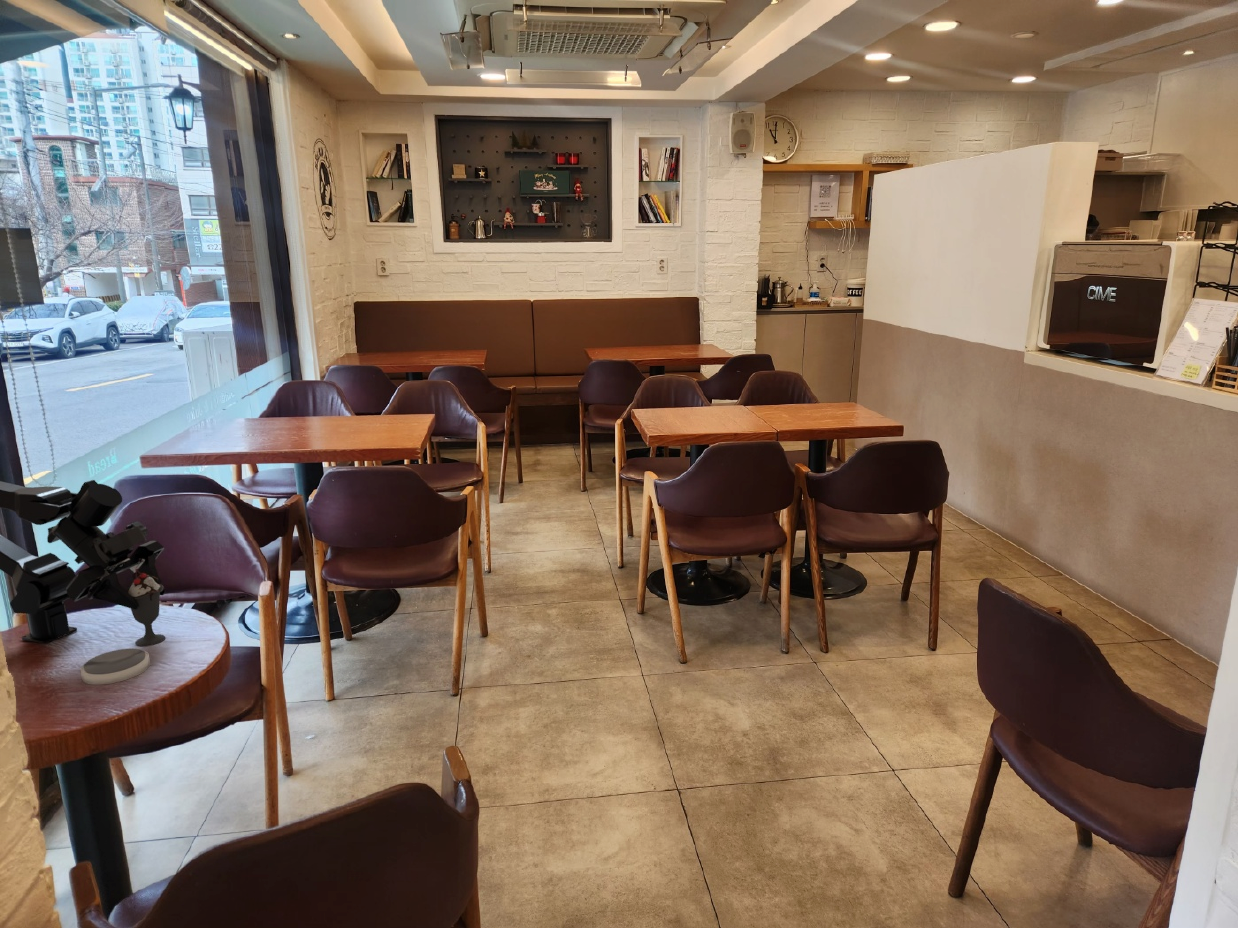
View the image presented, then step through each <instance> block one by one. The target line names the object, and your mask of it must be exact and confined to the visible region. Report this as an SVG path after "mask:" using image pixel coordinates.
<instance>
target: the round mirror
mask: <svg viewBox="0 0 1238 928" xmlns="http://www.w3.org/2000/svg"><path fill="white" fill-rule="evenodd" d="M150 666H151V661H150V654H149V652H147V651H146V650H143V649H140V648H122V649H115V650H111V651H107V652H104V653H101V654H98V655H96V656H94V657H92V658H89V660H87V661H86V662H85V663H84V664H83V665H82V666H81V668H80V675H81V680H82V682H83V683H85V684H88V685H94V686H95V685H96V686H98V685H101V686H102V685H109V684H114V683H119V682H123V681H125V680H130V679H132V678H134V677H137V676H138V675H140V674H142V673H144V672H145V671H147V670H148V669H149V667H150Z"/></svg>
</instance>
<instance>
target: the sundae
mask: <svg viewBox="0 0 1238 928" xmlns="http://www.w3.org/2000/svg"><path fill="white" fill-rule="evenodd" d="M135 571H136V577H135V580H134V579H133V581H132V583H131V586H130V587H129V588H128V589H125V590H126V591H127V592H128V593H129V594H130V595H131V596H132V597H133V598H134V599H135V600H136V601H137V603H138V604H139V607H138V609H136V610H134V609H131V608H130V610H131V614H132V616H133V618H134V620H135V621H136V622H138V623H139V624H142V625H143V626H144V630H145V631H144V635H143V636H142V637H139V638H138V639H137V640H135V643H134V644H135V645H136V646H137V647H149V646H154V645H156V644H159V643H161V642H163V641H165V639H166V636H165V635H164V634H161V633H160V634H159V633H157V634H156V633H155V632H154V629H153V623H154V621H156V620H157V618H158V617H159V616H160V596H161V595H160V592H161V591H163V589H164V588H165V587H164V588H163V586H164V584H163V585H161V584H157V582H158V578H156V577H154V576H151V575H149V574H147V575H146V574H145V573H142V574H141V573H140V572H139V571H138V568H137V569H136V570H135ZM137 571H138V572H139V573H140V576H138V577H137Z"/></svg>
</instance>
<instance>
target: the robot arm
mask: <svg viewBox="0 0 1238 928" xmlns="http://www.w3.org/2000/svg"><path fill="white" fill-rule="evenodd" d="M122 502H123V496H122V494H121V493H120V491H118V490H117V489H116V488H113V487H112V486H110V485H107V484H103V483H98V482H97V481H96V480H95V479H92V480H88V481H87V480H86V481H84V482H83V484H82V485H81V486H80V489H79V490H78V492H71V491H70V490H69V489H68V488H67V487H63V486H49V485H48V486H46V485H45V486H35V487H33V486H32V487H30V486H29V487H27V486H22V485H18V484H14V483H10V482H5V481H2V480H0V508H1V509H4V510H9V511H11V512H14V513H15V514H16V515H17V517H18V518H19V519H22V520H23V521H26V522H28V523H31V524H33V525H36V526H41V525H46V524H48V523H51V522H54V521H58V522H57V524H55V526H51V527H48V528H47V537H46V540H47V543H48V544H52V543H55V542H58V541H61V542H62V543H63V544H64V545H65V546H66V547H67V548H69V550H71V551H72V552H73V554H75V555H76V557H75V559H74V561H75V562H76V563H77V564H78V565H79V564H82V563H84V564H85V565H87V566H88V567H86V568H84V569H82V570H79V571H78V572H77V573H76V572H75V571H74V569H73V568H72V567H70V563H69V562H68V561H65V560H62V559H61V558H59V557H58V556H57V554H55V553H52V552H48V553H46V554H42V555H40V556H35V555H33V554H31V553H29V552H28V551H27V550H26V549H25V550H24V548H22V547H21V546H19V545H17V544H15V543H14V542H13V541H11V540H9V539H7V538H6V537H5V536H3V535H2V534H0V571H2V572H3V573H5V574H6V575H8V576H10V577H11V578H12V583H13V586H14V590H15V591H16V592H17V593H16V594H15V596H14V597H13V598H12V599H11V601H10V602H9V605H10V606H11V609H12V611H13V613H14V614H25V616H26V621H27V626H28V627H27V628H28V631H29V633H27V634H25V635H22V636H21V640H22V641H28V642H32V643H33V642H34V643H38V644H39V643H40V644H48V643H49V642H52V641H54V640H57V639H59V638H62V637H64V636H67V635H69V634H72V633H74V632H77V631H78V627H76V626H70V625H69V619H68V614H67V610H66V605H65V603H64V602H65V601H66V600H68V599H71V600H72V601H73V602H74V603H75V602H77V601H80V600H82V599H84V598H87V599H88V600H92V599H93V600H98V601H102V602H107V603H111V604H115V605H119V606H122V607H125V608H129V609H130V610H131V609H134V610H136V609H138V607H139V604H138V603H137V601H136V600H135V599H134V598H133V597H132V596H131V595H130V594H129V593H128V592H127V591H126V590H127V589H126V588H124V586H122V585H121V583H120V582H119V578H118V575H117V574H120V573H122V572H124V571H126V570H128V569H129V570H130V571H131V572H133V574H132V576H131V577H130V578H131V579H132V580H133V581H134V580H135V577H136V571H135V570H136V569H137V568H138V571H139V572H140V573H141V574H142V573H145V574H146V575H147V574H149V575H151V576H154V577H156V578H158V582H157V584H161V585H163V588H164V589H163V591H161V592H160V596H164V595H165V594H166V593H167V590H166V588H165V585H164V584H163V582H162V579H161V577H160V575H159V572H158V571H157V567H156V560H157V559H158V557H159V556H160V554H161V553H162V552H163V551H164V550H165V547H164V545H162V544H161V543H160V542H159V541H158V540H150V541H148V540H147V538H146V537H147V536H149V531H148V528H147V527H146V526H145V525H144V524H142V523H141V522H140V521H135V522H132V523H131V524H128V525H126V526H125V530H123V531H121V532H120V533H117V534H116V533H114V532H112V531H110V532H107V533H105V532H104V531H103V530H102V529H100V527H101V526H104V525H105V524H106V523H107V521H108V520H109V519H110V518H111V517H112V516H113V514H114V512H115V511H116V510H117V509H118V508H119V506H120V505H121V504H122ZM147 541H148V542H147ZM141 543H143V544H141ZM138 544H140V545H139V546H137V548H135V549H134V548H133V547H136V545H138ZM129 554H131V555H130V556H129ZM138 571H137V577H138V576H140V573H139V572H138Z"/></svg>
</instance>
